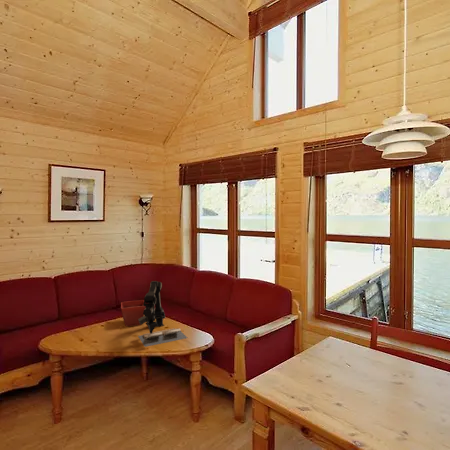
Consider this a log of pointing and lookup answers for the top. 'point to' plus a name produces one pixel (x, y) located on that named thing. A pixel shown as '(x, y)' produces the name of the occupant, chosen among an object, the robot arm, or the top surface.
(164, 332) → the light brown plank
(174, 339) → the underlay
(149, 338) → the light beige plank
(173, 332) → the beige flat square block
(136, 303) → the plant pot
